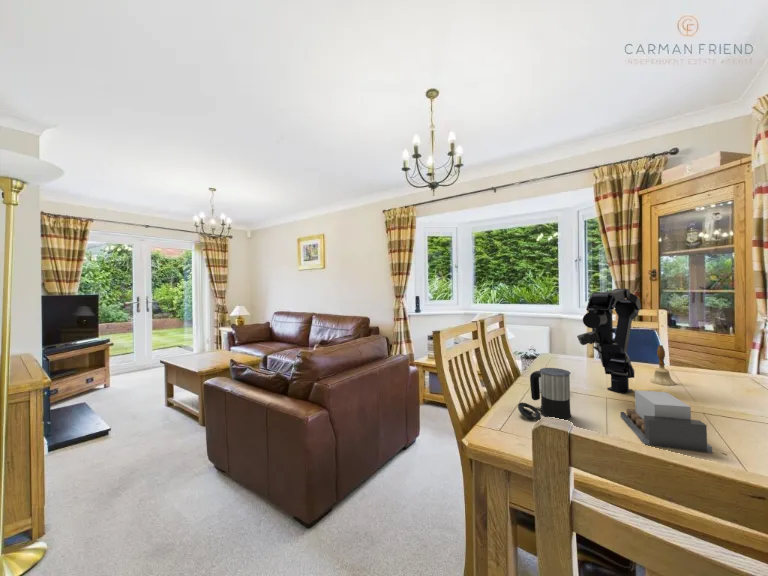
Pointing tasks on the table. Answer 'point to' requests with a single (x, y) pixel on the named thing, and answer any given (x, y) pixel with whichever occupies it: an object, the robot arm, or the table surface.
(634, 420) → the roller
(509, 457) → the table surface
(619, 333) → the robot arm
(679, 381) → the table surface
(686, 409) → the grey block
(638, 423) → the roller
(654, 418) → the conveyor frame
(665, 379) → the hand bell
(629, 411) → the roller
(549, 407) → the milk frother
